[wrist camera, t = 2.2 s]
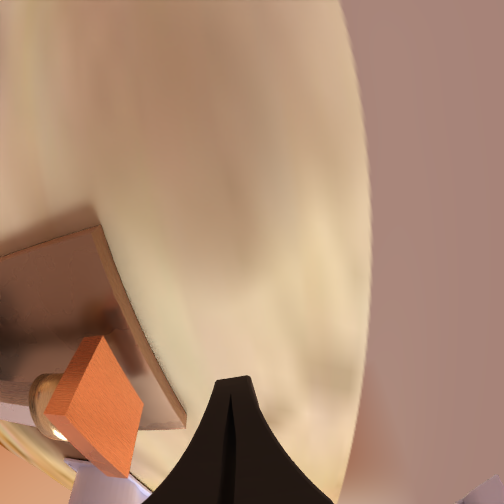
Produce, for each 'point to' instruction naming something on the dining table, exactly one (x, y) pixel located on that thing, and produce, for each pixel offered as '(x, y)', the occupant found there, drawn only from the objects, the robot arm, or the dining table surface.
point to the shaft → (82, 407)
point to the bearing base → (77, 319)
